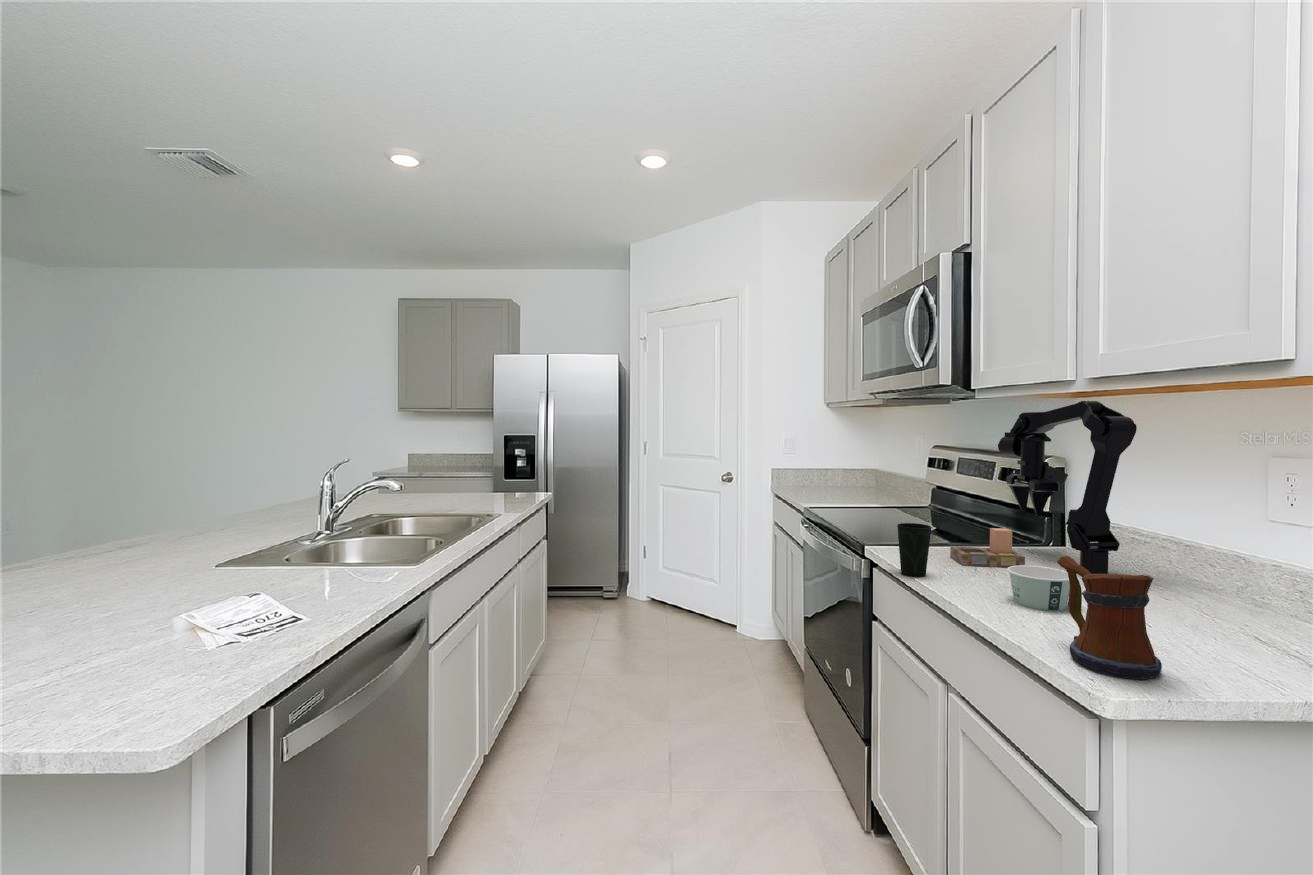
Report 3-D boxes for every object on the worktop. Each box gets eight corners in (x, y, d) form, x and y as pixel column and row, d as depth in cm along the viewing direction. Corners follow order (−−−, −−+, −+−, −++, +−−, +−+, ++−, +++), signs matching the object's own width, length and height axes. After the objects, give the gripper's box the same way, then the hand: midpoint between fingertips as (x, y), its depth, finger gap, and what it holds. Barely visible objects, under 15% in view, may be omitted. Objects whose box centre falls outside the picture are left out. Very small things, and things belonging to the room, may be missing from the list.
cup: (889, 572, 151) (890, 524, 150) (912, 569, 154) (913, 522, 153) (913, 579, 144) (914, 529, 143) (937, 576, 147) (938, 527, 146)
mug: (1028, 637, 106) (1030, 551, 105) (1094, 637, 106) (1096, 552, 105) (1103, 681, 88) (1106, 578, 87) (1183, 682, 88) (1186, 579, 87)
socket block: (1025, 568, 155) (1025, 556, 155) (962, 565, 158) (962, 553, 158) (1008, 559, 166) (1009, 547, 165) (950, 557, 168) (950, 545, 168)
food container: (995, 594, 132) (996, 564, 132) (1054, 596, 131) (1055, 566, 131) (1023, 611, 120) (1024, 578, 120) (1088, 613, 119) (1088, 580, 119)
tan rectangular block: (1011, 565, 159) (1012, 531, 159) (995, 564, 160) (995, 530, 159) (1005, 561, 163) (1006, 528, 163) (989, 561, 163) (990, 528, 163)
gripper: (1082, 460, 159) (1080, 519, 159) (1047, 456, 177) (1046, 509, 178) (1036, 459, 160) (1034, 518, 161) (1006, 455, 179) (1005, 508, 179)
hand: (1030, 513), depth 170 cm, fingers open, 9 cm apart
